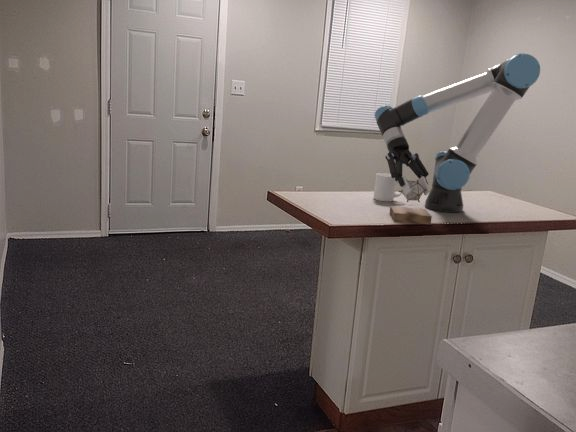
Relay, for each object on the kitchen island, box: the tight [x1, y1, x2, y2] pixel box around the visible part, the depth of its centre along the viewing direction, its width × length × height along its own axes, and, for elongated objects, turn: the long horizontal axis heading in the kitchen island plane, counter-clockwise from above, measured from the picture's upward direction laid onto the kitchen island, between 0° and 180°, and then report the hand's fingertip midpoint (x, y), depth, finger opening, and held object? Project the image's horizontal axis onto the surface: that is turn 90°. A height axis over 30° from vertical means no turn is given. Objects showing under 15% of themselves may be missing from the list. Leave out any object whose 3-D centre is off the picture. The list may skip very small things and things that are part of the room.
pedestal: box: [388, 205, 433, 225], centre depth 192 cm, size 13×12×3 cm
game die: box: [398, 178, 427, 203], centre depth 190 cm, size 9×8×10 cm
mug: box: [373, 172, 403, 202], centre depth 224 cm, size 9×12×11 cm
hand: (418, 193), depth 187 cm, fingers closed on game die, 8 cm apart
